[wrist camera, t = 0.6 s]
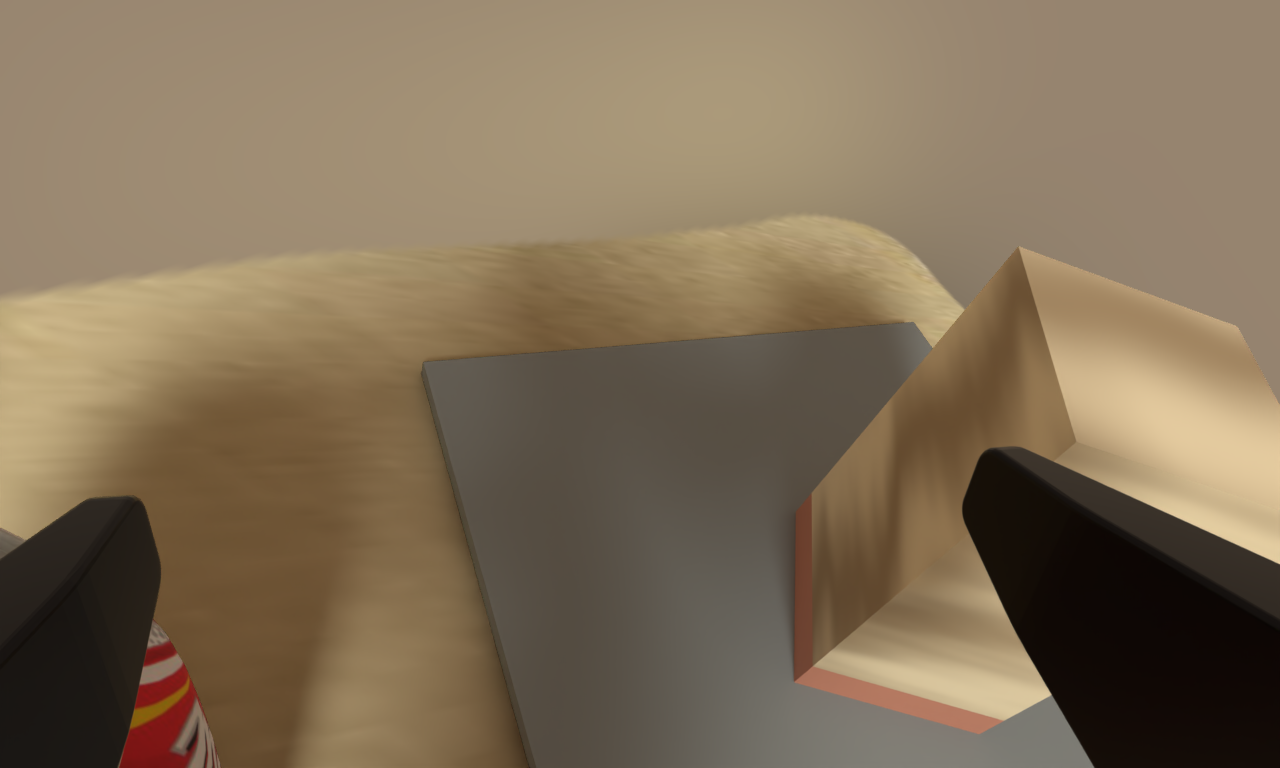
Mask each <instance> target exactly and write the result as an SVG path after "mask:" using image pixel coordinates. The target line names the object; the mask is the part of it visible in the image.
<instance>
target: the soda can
mask: <svg viewBox="0 0 1280 768" xmlns="http://www.w3.org/2000/svg"><path fill="white" fill-rule="evenodd" d="M25 541H26V540H24V539H22V538H20V537H18V536H16V535H14V534H12V533H10V532H8V531H6V530H4V529H2V528H0V558H2V557H3V556H5V555H6V554H8V553H9V552H11V551H12V550H13V549H15V548H16V547H18V546H19V545H21V544H22V543H24V542H25ZM118 768H221V765H220V761H219V758H218V754H217V751H216V747H215V744H214V740H213V737H212V734H211V731H210V728H209V725H208V722H207V719H206V717H205V714H204V711H203V708H202V705H201V702H200V700H199V697H198V695H197V693H196V690H195V688H194V686H193V683H192V681H191V678H190V676H189V674H188V671H187V669H186V667H185V665H184V663H183V661H182V660H181V658H180V656H179V655H178V653H177V651H176V649H175V648H174V646H173V644H172V643H171V641H170V639H169V638H168V636H167V634H166V633H165V632H164V630H163V629H162V628H161V627H160V626H159V625H158V624H157V623H156V622H155V621H154V619H153V622H152V627H151V631H150V636H149V641H148V646H147V651H146V656H145V660H144V665H143V670H142V675H141V680H140V685H139V689H138V694H137V699H136V704H135V709H134V713H133V717H132V722H131V726H130V730H129V734H128V737H127V741H126V744H125V747H124V750H123V754H122V757H121V760H120V763H119V766H118Z"/></svg>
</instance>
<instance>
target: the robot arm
mask: <svg viewBox="0 0 1280 768" xmlns="http://www.w3.org/2000/svg"><path fill="white" fill-rule="evenodd" d="M962 516H963V520H964V523H965V525H966V528H967V530H968V532H969V534H970V536H971V538H972V541H973V543H974V545H975V547H976V549H977V551H978V554H979V556H980V558H981V560H982V562H983V564H984V567H985V569H986V571H987V573H988V575H989V577H990V580H991V582H992V584H993V586H994V588H995V590H996V593H997V595H998V597H999V599H1000V601H1001V603H1002V606H1003V608H1004V610H1005V612H1006V614H1007V616H1008V618H1009V620H1010V622H1011V624H1012V626H1013V628H1014V631H1015V633H1016V634H1017V636H1018V638H1019V640H1020V642H1021V643H1022V645H1023V647H1024V649H1025V651H1026V652H1027V654H1028V656H1029V657H1030V659H1031V661H1032V663H1033V664H1034V666H1035V668H1036V669H1037V671H1038V673H1039V674H1040V676H1041V678H1042V680H1043V681H1044V683H1045V685H1046V686H1047V688H1048V690H1049V692H1050V693H1051V695H1052V697H1053V698H1054V700H1055V702H1056V704H1057V705H1058V707H1059V709H1060V710H1061V712H1062V714H1063V715H1064V717H1065V719H1066V721H1067V722H1068V724H1069V726H1070V727H1071V729H1072V731H1073V733H1074V734H1075V736H1076V738H1077V739H1078V741H1079V743H1080V744H1081V746H1082V748H1083V750H1084V751H1085V753H1086V755H1087V756H1088V758H1089V760H1090V762H1091V763H1092V765H1093V767H1094V768H1280V564H1279V563H1276V562H1274V561H1272V560H1270V559H1267V558H1265V557H1263V556H1261V555H1259V554H1256V553H1254V552H1252V551H1250V550H1248V549H1245V548H1243V547H1241V546H1239V545H1237V544H1234V543H1232V542H1230V541H1228V540H1226V539H1223V538H1221V537H1219V536H1217V535H1215V534H1212V533H1210V532H1208V531H1206V530H1204V529H1201V528H1199V527H1197V526H1195V525H1193V524H1190V523H1188V522H1186V521H1184V520H1181V519H1179V518H1177V517H1175V516H1173V515H1170V514H1168V513H1166V512H1164V511H1162V510H1159V509H1157V508H1155V507H1153V506H1151V505H1148V504H1146V503H1144V502H1142V501H1140V500H1137V499H1135V498H1133V497H1131V496H1129V495H1126V494H1124V493H1122V492H1120V491H1118V490H1115V489H1113V488H1111V487H1109V486H1107V485H1104V484H1102V483H1100V482H1098V481H1096V480H1093V479H1091V478H1089V477H1087V476H1084V475H1082V474H1080V473H1078V472H1076V471H1073V470H1071V469H1069V468H1067V467H1065V466H1062V465H1060V464H1058V463H1056V462H1054V461H1051V460H1049V459H1047V458H1045V457H1043V456H1040V455H1038V454H1036V453H1034V452H1032V451H1029V450H1027V449H1025V448H1022V447H1017V446H1009V447H992V448H989V449H986V450H985V451H984V452H983V453H982V454H981V455H980V457H979V459H978V461H977V464H976V466H975V469H974V472H973V475H972V477H971V480H970V483H969V485H968V488H967V491H966V493H965V496H964V499H963V502H962ZM160 581H161V565H160V559H159V555H158V551H157V548H156V544H155V540H154V537H153V533H152V530H151V526H150V523H149V519H148V515H147V512H146V509H145V506H144V504H143V503H142V501H141V500H140V499H139V498H137V497H135V496H133V495H126V496H107V497H94V498H89V499H87V500H85V501H83V502H82V503H80V504H79V505H77V506H76V507H74V508H73V509H71V510H70V511H68V512H67V513H66V514H64V515H63V516H61V517H60V518H58V519H57V520H55V521H54V522H52V523H51V524H50V525H48V526H47V527H45V528H44V529H42V530H41V531H39V532H38V533H37V534H35V535H34V536H32V537H31V538H29V539H28V540H26V541H25V542H24V543H22V544H21V545H19V546H18V547H16V548H15V549H13V550H12V551H11V552H9V553H8V554H6V555H5V556H3V557H2V558H0V768H118V766H119V763H120V760H121V757H122V754H123V750H124V747H125V744H126V741H127V737H128V734H129V730H130V726H131V722H132V717H133V713H134V709H135V704H136V699H137V694H138V689H139V685H140V680H141V675H142V670H143V665H144V660H145V656H146V651H147V646H148V641H149V636H150V631H151V627H152V622H153V617H154V612H155V607H156V602H157V598H158V593H159V588H160Z"/></svg>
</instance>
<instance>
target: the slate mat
mask: <svg viewBox="0 0 1280 768" xmlns="http://www.w3.org/2000/svg"><path fill="white" fill-rule="evenodd" d="M932 349H933V348H932V347H931V345H930V344H929V343H928V341H927V340H926V339H925V337H924V336H923V334H922V333H921V332H920V330H919V329H918V328H917V326H916V325H915V323H914V322H908V323H895V324H883V325H871V326H859V327H846V328H834V329H822V330H809V331H797V332H785V333H773V334H760V335H748V336H736V337H723V338H711V339H699V340H686V341H674V342H662V343H650V344H637V345H625V346H613V347H600V348H588V349H576V350H563V351H551V352H539V353H527V354H514V355H502V356H490V357H477V358H465V359H453V360H441V361H428V362H423V366H422V372H421V374H422V378H423V382H424V385H425V389H426V392H427V396H428V400H429V403H430V407H431V411H432V414H433V418H434V422H435V425H436V429H437V433H438V436H439V440H440V444H441V447H442V451H443V454H444V458H445V462H446V465H447V469H448V473H449V476H450V480H451V484H452V487H453V491H454V495H455V498H456V502H457V506H458V509H459V513H460V516H461V520H462V524H463V527H464V531H465V535H466V538H467V542H468V546H469V549H470V553H471V557H472V560H473V564H474V568H475V571H476V575H477V578H478V582H479V586H480V589H481V593H482V597H483V600H484V604H485V608H486V611H487V615H488V619H489V622H490V626H491V629H492V633H493V637H494V640H495V644H496V648H497V651H498V655H499V659H500V662H501V666H502V670H503V673H504V677H505V681H506V684H507V688H508V691H509V695H510V699H511V702H512V706H513V710H514V713H515V717H516V721H517V724H518V728H519V732H520V735H521V739H522V743H523V746H524V750H525V753H526V757H527V761H528V764H529V768H1094V767H1093V765H1092V763H1091V762H1090V760H1089V758H1088V756H1087V755H1086V753H1085V751H1084V750H1083V748H1082V746H1081V744H1080V743H1079V741H1078V739H1077V738H1076V736H1075V734H1074V733H1073V731H1072V729H1071V727H1070V726H1069V724H1068V722H1067V721H1066V719H1065V717H1064V715H1063V714H1062V712H1061V710H1060V709H1059V707H1058V705H1057V704H1056V702H1055V700H1054V698H1053V697H1052V695H1051V696H1049V697H1047V698H1045V699H1043V700H1042V701H1040V702H1038V703H1036V704H1034V705H1032V706H1031V707H1029V708H1027V709H1025V710H1023V711H1021V712H1019V713H1018V714H1016V715H1014V716H1012V717H1010V718H1008V719H1007V720H1005V721H1003V722H1001V723H999V724H997V725H995V726H994V727H992V728H990V729H988V730H986V731H984V732H983V733H981V734H976V733H973V732H969V731H966V730H962V729H959V728H955V727H952V726H948V725H944V724H941V723H937V722H934V721H930V720H927V719H923V718H919V717H916V716H912V715H909V714H905V713H902V712H898V711H894V710H891V709H887V708H884V707H880V706H877V705H873V704H870V703H866V702H862V701H859V700H855V699H852V698H848V697H845V696H841V695H837V694H834V693H830V692H827V691H823V690H820V689H816V688H813V687H809V686H805V685H802V684H798V683H795V682H794V637H795V542H796V511H797V510H798V509H799V507H800V506H801V505H802V504H803V503H804V501H805V500H806V499H807V498H808V497H809V495H810V494H811V493H812V492H813V491H814V489H815V488H816V487H817V486H818V485H819V484H820V482H821V481H822V480H823V479H824V478H825V476H826V475H827V474H828V473H829V472H830V470H831V469H832V468H833V467H834V466H835V464H836V463H837V462H838V461H839V460H840V458H841V457H842V456H843V455H844V454H845V453H846V451H847V450H848V449H849V448H850V447H851V445H852V444H853V443H854V442H855V441H856V439H857V438H858V437H859V436H860V435H861V433H862V432H863V431H864V430H865V429H866V427H867V426H868V425H869V424H870V423H871V422H872V420H873V419H874V418H875V417H876V416H877V414H878V413H879V412H880V411H881V410H882V408H883V407H884V406H885V405H886V404H887V402H888V401H889V400H890V399H891V398H892V396H893V395H894V394H895V393H896V392H897V391H898V389H899V388H900V387H901V386H902V385H903V383H904V382H905V381H906V380H907V379H908V377H909V376H910V375H911V374H912V373H913V371H914V370H915V369H916V368H917V367H918V365H919V364H920V363H921V362H922V361H923V360H924V358H925V357H926V356H927V355H928V354H929V352H930V351H931V350H932Z"/></svg>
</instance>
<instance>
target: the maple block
mask: <svg viewBox="0 0 1280 768" xmlns="http://www.w3.org/2000/svg"><path fill="white" fill-rule="evenodd" d="M1009 446H1017V447H1022V448H1025V449H1027V450H1029V451H1032V452H1034V453H1036V454H1038V455H1040V456H1043V457H1045V458H1047V459H1049V460H1051V461H1054V462H1056V463H1058V464H1060V465H1062V466H1065V467H1067V468H1069V469H1071V470H1073V471H1076V472H1078V473H1080V474H1082V475H1084V476H1087V477H1089V478H1091V479H1093V480H1096V481H1098V482H1100V483H1102V484H1104V485H1107V486H1109V487H1111V488H1113V489H1115V490H1118V491H1120V492H1122V493H1124V494H1126V495H1129V496H1131V497H1133V498H1135V499H1137V500H1140V501H1142V502H1144V503H1146V504H1148V505H1151V506H1153V507H1155V508H1157V509H1159V510H1162V511H1164V512H1166V513H1168V514H1170V515H1173V516H1175V517H1177V518H1179V519H1181V520H1184V521H1186V522H1188V523H1190V524H1193V525H1195V526H1197V527H1199V528H1201V529H1204V530H1206V531H1208V532H1210V533H1212V534H1215V535H1217V536H1219V537H1221V538H1223V539H1226V540H1228V541H1230V542H1232V543H1234V544H1237V545H1239V546H1241V547H1243V548H1245V549H1248V550H1250V551H1252V552H1254V553H1256V554H1259V555H1261V556H1263V557H1265V558H1267V559H1270V560H1272V561H1274V562H1276V563H1279V564H1280V405H1279V403H1278V401H1277V399H1276V397H1275V396H1274V394H1273V392H1272V390H1271V388H1270V386H1269V384H1268V383H1267V381H1266V379H1265V377H1264V375H1263V373H1262V371H1261V370H1260V368H1259V366H1258V364H1257V362H1256V360H1255V359H1254V357H1253V355H1252V353H1251V351H1250V349H1249V347H1248V346H1247V344H1246V342H1245V340H1244V338H1243V336H1242V335H1241V333H1240V331H1239V329H1238V327H1237V326H1234V325H1232V324H1229V323H1226V322H1224V321H1221V320H1218V319H1215V318H1212V317H1210V316H1207V315H1205V314H1202V313H1199V312H1196V311H1193V310H1191V309H1188V308H1185V307H1183V306H1180V305H1177V304H1174V303H1172V302H1169V301H1166V300H1163V299H1161V298H1158V297H1155V296H1153V295H1150V294H1147V293H1144V292H1142V291H1139V290H1136V289H1133V288H1131V287H1128V286H1125V285H1123V284H1120V283H1117V282H1114V281H1112V280H1109V279H1106V278H1104V277H1101V276H1098V275H1095V274H1093V273H1090V272H1087V271H1084V270H1082V269H1079V268H1076V267H1074V266H1071V265H1068V264H1065V263H1063V262H1060V261H1057V260H1054V259H1052V258H1049V257H1046V256H1044V255H1041V254H1038V253H1035V252H1033V251H1030V250H1027V249H1024V248H1022V247H1019V246H1018V247H1017V249H1016V250H1015V251H1014V253H1013V254H1012V255H1011V256H1010V257H1009V258H1008V260H1007V261H1006V262H1005V263H1004V264H1003V265H1002V266H1001V268H1000V269H999V270H998V271H997V272H996V274H995V275H994V276H993V277H992V278H991V280H990V281H989V282H988V283H987V284H986V286H985V287H984V288H983V289H982V290H981V292H980V293H979V294H978V295H977V296H976V298H975V299H974V300H973V301H972V302H971V304H970V305H969V306H968V307H967V308H966V309H965V311H964V312H963V313H962V314H961V315H960V317H959V318H958V319H957V320H956V321H955V323H954V324H953V325H952V326H951V327H950V329H949V330H948V331H947V332H946V333H945V334H944V336H943V337H942V338H941V339H940V340H939V342H938V343H937V344H936V345H935V346H934V348H933V349H932V350H931V351H930V352H929V354H928V355H927V356H926V357H925V358H924V360H923V361H922V362H921V363H920V364H919V365H918V367H917V368H916V369H915V370H914V371H913V373H912V374H911V375H910V376H909V377H908V379H907V380H906V381H905V382H904V383H903V385H902V386H901V387H900V388H899V389H898V391H897V392H896V393H895V394H894V395H893V396H892V398H891V399H890V400H889V401H888V402H887V404H886V405H885V406H884V407H883V408H882V410H881V411H880V412H879V413H878V414H877V416H876V417H875V418H874V419H873V420H872V422H871V423H870V424H869V425H868V426H867V427H866V429H865V430H864V431H863V432H862V433H861V435H860V436H859V437H858V438H857V439H856V441H855V442H854V443H853V444H852V445H851V447H850V448H849V449H848V450H847V451H846V453H845V454H844V455H843V456H842V457H841V458H840V460H839V461H838V462H837V463H836V464H835V466H834V467H833V468H832V469H831V470H830V472H829V473H828V474H827V475H826V476H825V478H824V479H823V480H822V481H821V482H820V484H819V485H818V486H817V487H816V488H815V489H814V491H813V492H812V493H811V494H810V495H809V497H808V498H807V499H806V500H805V501H804V503H803V504H802V505H801V506H800V507H799V509H798V510H797V511H796V542H795V637H794V682H795V683H798V684H802V685H805V686H809V687H813V688H816V689H820V690H823V691H827V692H830V693H834V694H837V695H841V696H845V697H848V698H852V699H855V700H859V701H862V702H866V703H870V704H873V705H877V706H880V707H884V708H887V709H891V710H894V711H898V712H902V713H905V714H909V715H912V716H916V717H919V718H923V719H927V720H930V721H934V722H937V723H941V724H944V725H948V726H952V727H955V728H959V729H962V730H966V731H969V732H973V733H976V734H981V733H983V732H984V731H986V730H988V729H990V728H992V727H994V726H995V725H997V724H999V723H1001V722H1003V721H1005V720H1007V719H1008V718H1010V717H1012V716H1014V715H1016V714H1018V713H1019V712H1021V711H1023V710H1025V709H1027V708H1029V707H1031V706H1032V705H1034V704H1036V703H1038V702H1040V701H1042V700H1043V699H1045V698H1047V697H1049V696H1051V693H1050V692H1049V690H1048V688H1047V686H1046V685H1045V683H1044V681H1043V680H1042V678H1041V676H1040V674H1039V673H1038V671H1037V669H1036V668H1035V666H1034V664H1033V663H1032V661H1031V659H1030V657H1029V656H1028V654H1027V652H1026V651H1025V649H1024V647H1023V645H1022V643H1021V642H1020V640H1019V638H1018V636H1017V634H1016V633H1015V631H1014V628H1013V626H1012V624H1011V622H1010V620H1009V618H1008V616H1007V614H1006V612H1005V610H1004V608H1003V606H1002V603H1001V601H1000V599H999V597H998V595H997V593H996V590H995V588H994V586H993V584H992V582H991V580H990V577H989V575H988V573H987V571H986V569H985V567H984V564H983V562H982V560H981V558H980V556H979V554H978V551H977V549H976V547H975V545H974V543H973V541H972V538H971V536H970V534H969V532H968V530H967V528H966V525H965V523H964V520H963V516H962V502H963V499H964V496H965V493H966V491H967V488H968V485H969V483H970V480H971V477H972V475H973V472H974V469H975V466H976V464H977V461H978V459H979V457H980V455H981V454H982V453H983V452H984V451H985V450H986V449H989V448H992V447H1009Z"/></svg>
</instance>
